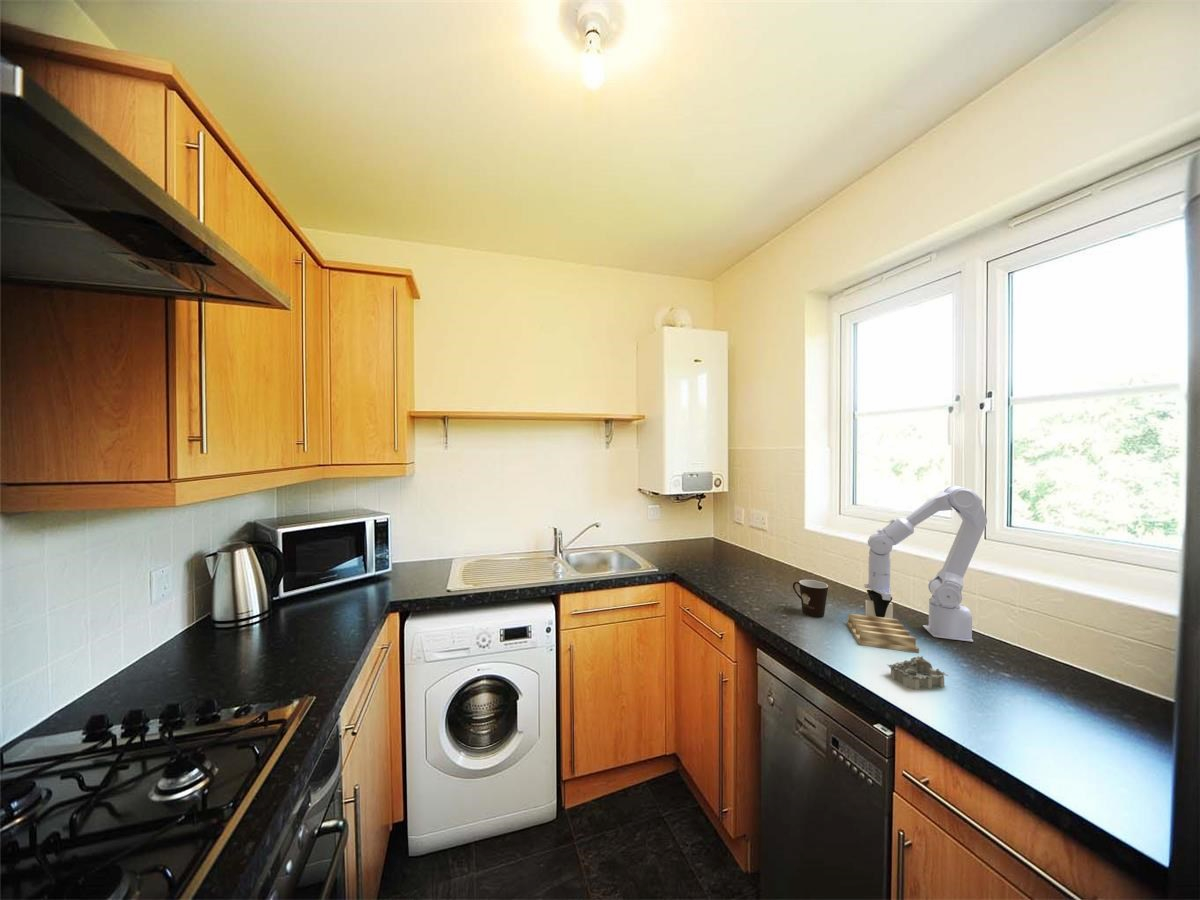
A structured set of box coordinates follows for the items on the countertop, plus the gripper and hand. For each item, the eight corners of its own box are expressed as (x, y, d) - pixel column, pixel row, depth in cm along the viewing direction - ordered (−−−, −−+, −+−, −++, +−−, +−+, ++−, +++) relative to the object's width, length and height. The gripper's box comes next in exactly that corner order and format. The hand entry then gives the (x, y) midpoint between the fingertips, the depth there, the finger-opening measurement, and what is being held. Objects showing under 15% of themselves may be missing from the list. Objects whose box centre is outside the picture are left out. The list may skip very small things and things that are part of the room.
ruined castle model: (923, 671, 104) (923, 655, 104) (952, 689, 96) (952, 671, 96) (883, 673, 103) (884, 657, 103) (909, 691, 95) (910, 673, 95)
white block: (890, 621, 132) (891, 602, 132) (892, 623, 131) (892, 604, 131) (865, 618, 134) (865, 599, 134) (866, 620, 133) (867, 601, 133)
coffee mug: (833, 619, 135) (833, 588, 135) (806, 619, 135) (806, 587, 135) (815, 606, 146) (815, 577, 146) (790, 605, 146) (790, 576, 146)
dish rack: (898, 630, 127) (898, 618, 127) (918, 652, 113) (919, 639, 113) (846, 623, 132) (846, 612, 132) (859, 644, 117) (859, 632, 117)
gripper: (858, 565, 141) (858, 605, 141) (871, 577, 127) (871, 622, 127) (882, 567, 139) (882, 608, 139) (899, 580, 125) (898, 625, 125)
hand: (878, 615), depth 133 cm, fingers closed on white block, 2 cm apart
